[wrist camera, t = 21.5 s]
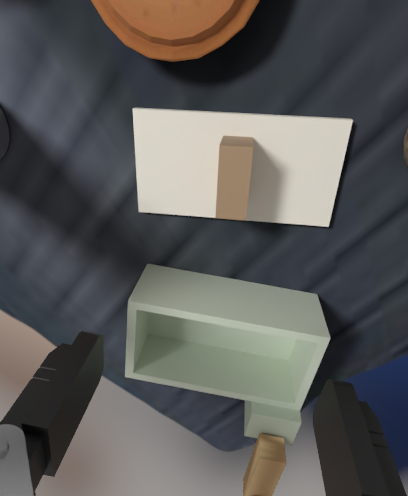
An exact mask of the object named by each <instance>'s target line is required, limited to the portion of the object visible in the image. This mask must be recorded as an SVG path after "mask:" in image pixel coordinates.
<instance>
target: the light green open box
mask: <svg viewBox="0 0 408 496" xmlns="http://www.w3.org/2000/svg"><path fill="white" fill-rule="evenodd" d="M330 339H331V338H330V334H329V331H328V328H327V325H326V321H325V318H324V315H323V311H322V308H321V305H320V302H319V298H318V295H317V294H313V293H308V292H302V291H297V290H291V289H285V288H280V287H274V286H269V285H263V284H258V283H252V282H247V281H241V280H236V279H230V278H225V277H219V276H214V275H208V274H202V273H197V272H191V271H186V270H180V269H175V268H169V267H164V266H158V265H153V264H147V265H146V267H145V269H144V271H143V273H142V275H141V277H140V279H139V281H138V282H137V284H136V286H135V288H134V290H133V292H132V294H131V296H130V298H129V300H128V313H127V340H126V367H125V377H128V378H133V379H138V380H143V381H149V382H154V383H159V384H164V385H169V386H174V387H180V388H185V389H190V390H195V391H200V392H205V393H210V394H216V395H221V396H226V397H231V398H236V399H241V400H245V426H244V436H248V437H253V438H258V436H259V433H260V434H265V435H270V436H275V437H280V438H284V444H289V445H292V444H293V442H294V439H295V437H296V435H297V432H298V430H299V428H300V425H301V423H302V421H301V415H300V410H301V407H302V405H303V402H304V400H305V398H306V395H307V393H308V391H309V388H310V386H311V384H312V381H313V379H314V376H315V374H316V372H317V369H318V367H319V365H320V362H321V360H322V358H323V355H324V353H325V350H326V348H327V346H328V343H329V341H330Z"/></svg>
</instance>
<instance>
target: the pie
mask: <svg viewBox="0 0 408 496" xmlns="http://www.w3.org/2000/svg"><path fill="white" fill-rule="evenodd" d="M91 1H92V3H93V4H94V6H95V7H96V9H97V11H98V12H99V14H100V15H101V17H102V19H103V20H104V22H105V23H106V25H107V26H108V27H109V28H110V29H111V30H112V31H113V32H114V33H115V34H116V36H117V37H118V38H119V39H120V40H121V41H122V42H123V43H124V44H125V45H126V46H128V47H130V48H132V49H133V50H135V51H137V52H139V53H141V54H142V55H144V56H146V57H148V58H151V59H157V60H164V61H171V62H176V61H183V60H191V59H198V58H201V57H202V56H204V55H206V54H208V53H210V52H211V51H213V50H215V49H217V48H219V47H221V46H222V45H224V44H225V43H226V42H227V41H228V40H229V39H231V38H232V37H233V36H234V35H235V34H237V33H238V32H239V31H240V30H241V29H242V28H244V27H245V25H246V23H247V21H248V20H249V18H250V16H251V15H252V13H253V11H254V9H255V8H256V6H257V4H258V3H259V1H260V0H91Z"/></svg>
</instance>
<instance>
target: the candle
mask: <svg viewBox="0 0 408 496" xmlns="http://www.w3.org/2000/svg"><path fill="white" fill-rule="evenodd" d="M404 159H405V162H406V165H407V167H408V129H407V133H406V135H405V138H404Z"/></svg>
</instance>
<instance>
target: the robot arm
mask: <svg viewBox="0 0 408 496" xmlns="http://www.w3.org/2000/svg"><path fill="white" fill-rule="evenodd" d="M8 145H9V128H8V124H7V120H6V118H5V116H4V113H3V111H2V110H1V108H0V160H1V158H2V157H3V156H4V155H5V153H6V151H7V149H8ZM103 365H104V354H103V335H99V334H94V333H88V332H83V331H82V332H80V333H79V334H78V336H77V337H76V339H75V340H74V342H73V344H72V345H68V344H63V343H62V344H61V345H60V346H58V347H57V348H56V349H54V350H53V351H52V352H50V353H49V354H48V356H47V357H46V359H45V360H44V362H43V363H42V364H41V366H40V368H39V369H38V370H37V371H36V373H35V374H34V376H33V379H31V380H30V381H29V383H28V384H27V386H26V387H25V388H24V390H23V391H22V393H21V394H20V396H19V397H18V398H17V400H16V401H15V403H14V404H13V406H12V407H11V408H10V410H9V411H8V413H7V414H6V416H5V417H4V418H3V420H2V421H1V422H0V496H36V493H35V490H36V488H37V486H38V484H39V481H40V479H41V478H42V476H43V475H48V476H53V477H54V476H55V474H56V471H57V469H58V468H59V465H60V463H61V461H62V459H63V457H64V455H65V453H66V451H67V449H68V447H69V445H70V442H71V440H72V438H73V436H74V434H75V432H76V430H77V428H78V425H79V424H80V421H81V419H82V417H83V415H84V413H85V411H86V409H87V407H88V405H89V402H90V401H91V398H92V396H93V394H94V392H95V390H96V388H97V386H98V384H99V381H100V379H101V376H102V372H103ZM313 426H314V431H315V437H316V442H317V448H318V454H319V459H320V464H321V470H322V476H323V481H324V487H325V492H326V496H407V495H406V493H405V490H404V487H403V485H402V482H401V479H400V476H399V474H398V471H397V469H396V466H395V463H394V460H393V458H392V455H391V453H390V450H388V444H387V441H386V439H385V437H384V436H383V434H384V433H383V431H382V428H381V425H380V423H379V420H378V417H377V416H376V415H375V413H374V412H373V411H372V409H371V408H370V407H369V405H368V404H367V403H366V402H361V401H358V398H357V395H356V392H355V389H354V387H353V385H352V384H351V383H348V382H342V381H337V380H332V379H328V380H327V381H326V383H325V385H324V387H323V389H322V392H321V394H320V396H319V398H318V401H317V403H316V405H315V408H314V413H313Z"/></svg>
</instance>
